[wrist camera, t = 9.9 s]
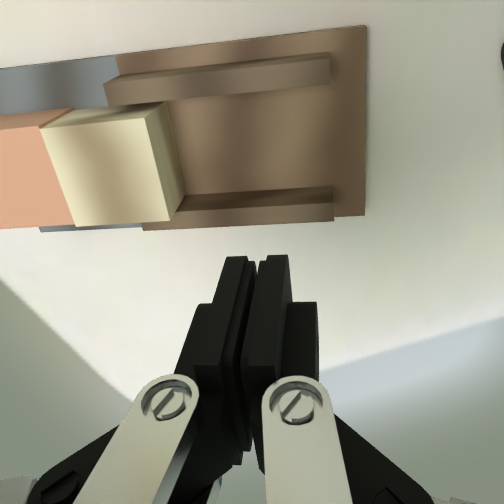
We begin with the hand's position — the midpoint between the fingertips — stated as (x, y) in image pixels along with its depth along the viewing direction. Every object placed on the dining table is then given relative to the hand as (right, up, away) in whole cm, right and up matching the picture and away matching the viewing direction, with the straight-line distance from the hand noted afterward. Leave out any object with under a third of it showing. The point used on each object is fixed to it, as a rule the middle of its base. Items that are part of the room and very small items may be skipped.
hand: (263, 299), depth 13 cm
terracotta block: (-14, +8, +17) cm, 23 cm away
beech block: (-8, +8, +16) cm, 20 cm away
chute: (-5, +8, +16) cm, 19 cm away
